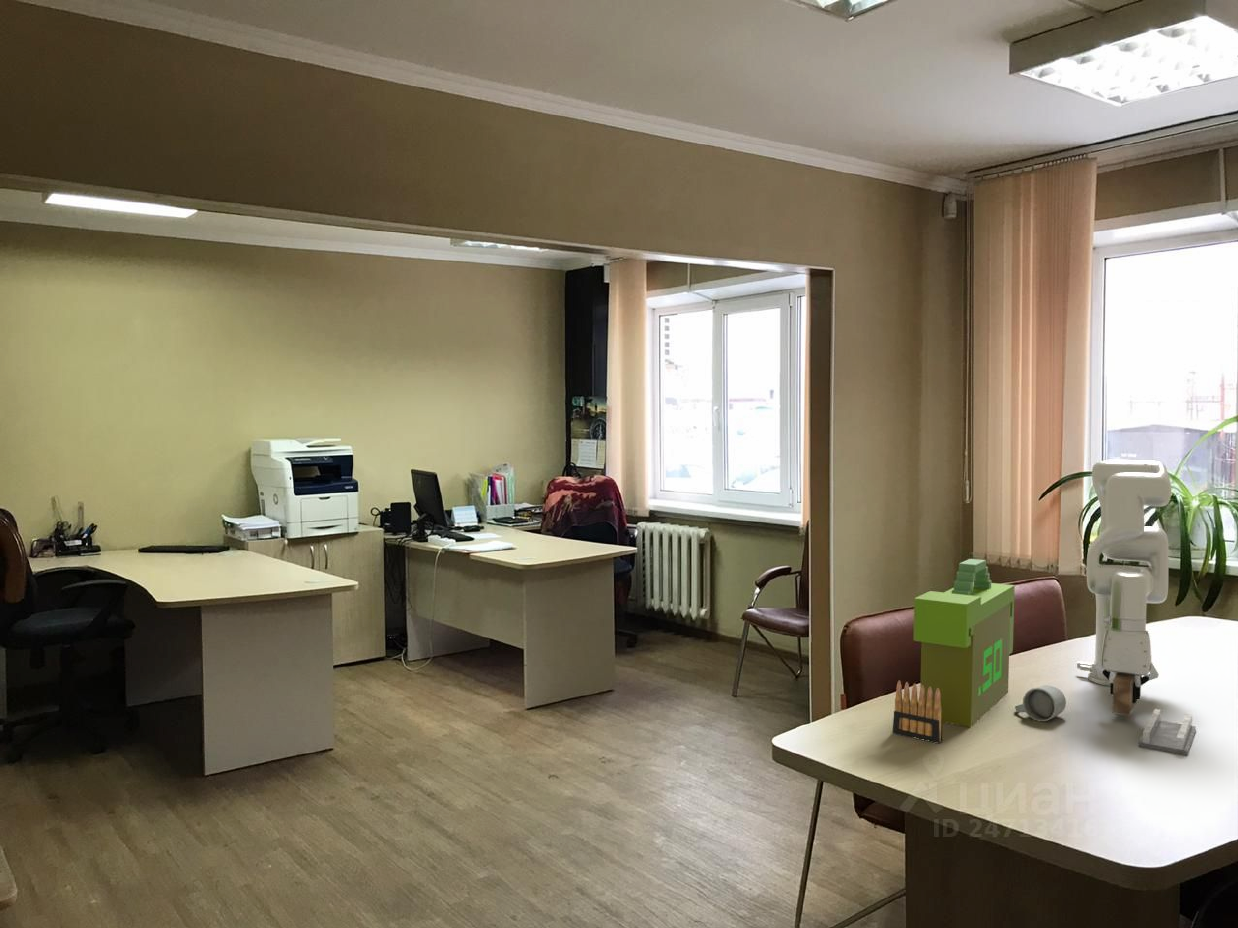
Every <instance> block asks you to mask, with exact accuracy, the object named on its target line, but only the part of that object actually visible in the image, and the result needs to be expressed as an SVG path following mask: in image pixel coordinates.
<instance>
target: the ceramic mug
mask: <svg viewBox="0 0 1238 928" xmlns="http://www.w3.org/2000/svg"><path fill="white" fill-rule="evenodd" d="M1066 705H1067V700H1066V697H1065V695H1064V692H1063V691H1061V689H1059V688H1058V687H1056V686H1053V685H1042V686H1039V687H1035V688H1032V689H1029V690H1027V692H1025V694H1024V696H1023V699H1022V703H1021V704H1017V705H1015V706H1014V709H1015V711H1016V713H1022V712H1023V713H1024V712H1025V713H1026V715H1027V716H1028V717H1029V718H1031V719H1032V720H1034V721H1036V720H1037V721H1036V722H1040V721H1043V722H1048V721H1050V720H1051V719H1054V718H1055V717H1058V716H1059V715H1061V714H1062V713H1063V712H1064V710H1065V708H1066V707H1067V706H1066Z"/></svg>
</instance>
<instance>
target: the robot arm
mask: <svg viewBox="0 0 1238 928" xmlns="http://www.w3.org/2000/svg"><path fill="white" fill-rule="evenodd" d="M1170 478H1171V477H1170V475H1169V472H1168V470H1167V466H1166V465H1165V464H1164V462H1163V461H1162V462H1161V461H1157V460H1141V459H1140V460H1139V459H1138V460H1137V459H1136V460H1135V459H1134V460H1133V459H1106V460H1105V459H1104V460H1100V461H1098V462H1097V461H1096V462H1095V463H1094V464H1093V466H1092V468H1091V480H1092V481H1091V482H1092V485H1093V489H1094V491H1095V494H1096V497H1097V498H1098V499H1097V500H1098V503H1099V506H1100V534H1098V535H1097V536H1096V537H1095V538H1094V540H1093V541H1092V542H1091V544H1090V546H1089V548H1088V550H1087V551H1088V552H1087V557H1086V585H1087V588H1088V590H1089V591H1090V592H1091V593H1092V594H1094V595H1095V603H1096V604H1095V606H1096V607H1095V608H1096V609H1095V610H1096V613H1095V617H1096V618H1095V648H1094V649H1095V650H1094V656H1095V657H1094V661H1093V662H1092V661H1091V662H1083V661H1077V664H1076V667H1077V669H1079V670H1080V671H1085V672H1086V671H1089V673H1088V675H1087V678H1088V681H1091V682H1092V683H1094V684H1098V685H1102V686H1107V687H1110V688H1109V689H1110V692H1109V695H1110V696H1113V682H1114V678H1115V676H1116V675H1117V673H1118V672H1119V673H1126V674H1133V675H1134V679H1135V683H1134V686H1133V699H1132V702H1133V703H1135V705H1136V704H1137V702H1138V700H1140V701H1141V693H1142V692H1141V691H1142V690H1141V688H1142V687H1141V686H1143V685H1145V684H1146V683H1147V682H1149V681H1151V680H1155V679H1158V677H1159V672H1158V671H1157V669H1156V667H1155V665H1154V664H1153V662H1152V650H1151V649H1152V646H1151V638H1150V637H1151V636H1150V634H1149V630H1146V629H1147V627H1146V626H1147V605H1148V604H1161V603H1164V602H1165V601H1166V600H1167V598H1168V595H1169V594H1168V593H1169V538H1168V535H1167V533H1166V532H1165V530H1164V529H1162V528H1161V527H1158V526H1151V525H1149V526H1147V525H1145V507H1165V506H1167V505H1168V504H1169V503H1170V500H1171V496H1172V482H1171V479H1170ZM1101 554H1102V555H1103V556H1104V558H1106V559H1110V560H1115V561H1124V562H1125V561H1126V562H1127V561H1128V562H1141V563H1142V562H1144V563H1145V564H1147V565H1148V566H1147V567H1146V566H1134V565H1124V564H1123V565H1120V564H1119V565H1118V564H1116V565H1115V564H1100V556H1101Z"/></svg>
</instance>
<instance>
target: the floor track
mask: <svg viewBox="0 0 1238 928" xmlns="http://www.w3.org/2000/svg"><path fill="white" fill-rule="evenodd" d="M1161 715H1162V709H1157V708H1155V709H1153V712H1152V714H1151V716H1150V718H1149V720H1148V722H1147V723H1146V726H1145V727H1144V730H1143V733H1142V735H1141V737H1140V739H1139V741H1138V748H1145V749H1149V750H1154V751H1161V752H1166V753H1171V754H1176V755H1183V756H1188V754H1189V751H1190V748H1191V745H1192V742H1193V740H1194V737H1195V733H1196V729H1197V728H1196V725H1192V724H1193V714H1188V713H1185V716H1184V718H1183V721H1182V723H1178V722H1172V721H1168V720H1167V721H1166V720H1161V719H1162V717H1161Z"/></svg>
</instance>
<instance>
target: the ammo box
mask: <svg viewBox="0 0 1238 928" xmlns="http://www.w3.org/2000/svg"><path fill="white" fill-rule="evenodd" d="M990 576H991V575H990V573H989V566H987V560H986V559H976V558H968V559H967V560H964V561H962V562H960V563H958V571H957V572H956V580H953V587H952V588H950V589H948V590H946V591H944V592H942V591H941V592H940V591H933V590H932V591H931V590H930V591H927V592H925V593H923V594H921V595H919V596H916V597H915V598H913V599H914V603H913V604H914V606H913V641H914V642H921V643H920V644H921V645H920V646H921V647H920V650H921V652H920V680H919V681H920V684H919V685H920V688H921V685H923V686H924V690H925V703H926V702H927V692H928V688H929V686H931V688H932V693H933V706H934V702H935V693H936V690H937V688H939V690H940V697H941V719H942V723H944V722H948V723H947V724H950V723H953V724H952V725H955V724H959V725H958V726H960V725H963V726H962V727H966V726H968V727H967V728H972V727H973V726H974V725H975V724H977V722H978V721H979V720H980V719H981V718H982V717H983V715H984V714H985V713H986V712H987V711H988V710H989V709H990V708H991V709H992V708H994V706H995V705H997V703H998V702H999V701H1001V700H1002V699H1003V697H1005V696H1006V695H1007V694H1008V692H1009V677H1010V676H1009V668H1010V654H1011V655H1012V653H1013V651H1014V650H1013V649H1014V624H1015V623H1014V621H1015V620H1014V616H1015V615H1014V613H1015V584H1007V583H994V582H992V580H991V577H990ZM920 688H919V689H920ZM991 709H990V710H991ZM990 710H989V711H990ZM989 711H988V712H989ZM988 712H987V713H988ZM987 713H986V714H987ZM986 714H985V715H986ZM985 715H984V716H985ZM981 716H982V717H981ZM980 717H981V718H980ZM979 718H980V719H979ZM977 720H978V721H977ZM971 726H972V727H971Z"/></svg>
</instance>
